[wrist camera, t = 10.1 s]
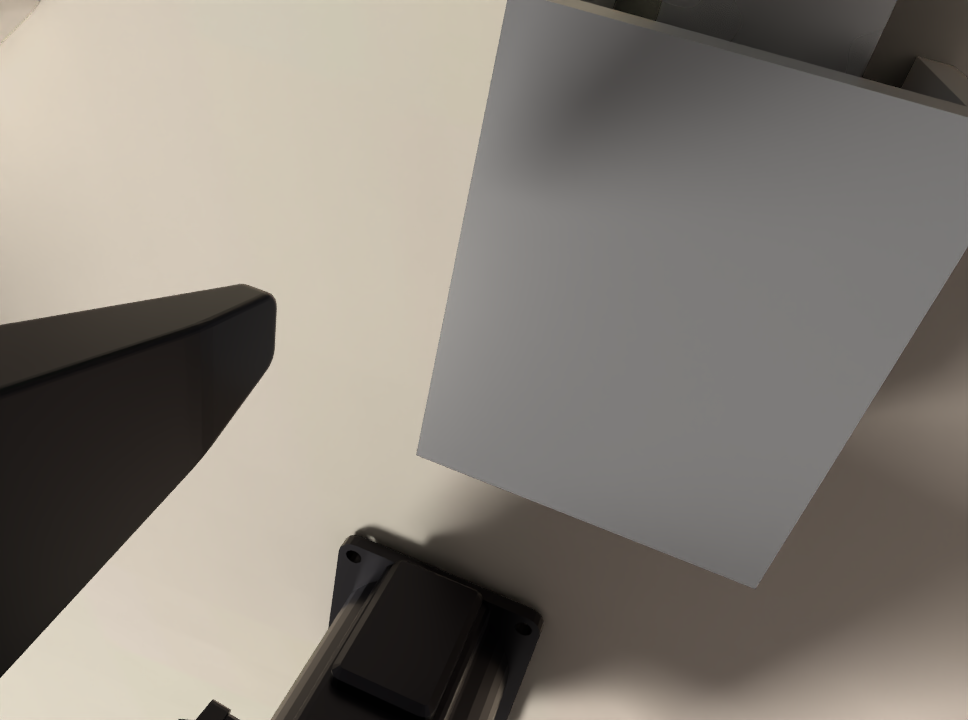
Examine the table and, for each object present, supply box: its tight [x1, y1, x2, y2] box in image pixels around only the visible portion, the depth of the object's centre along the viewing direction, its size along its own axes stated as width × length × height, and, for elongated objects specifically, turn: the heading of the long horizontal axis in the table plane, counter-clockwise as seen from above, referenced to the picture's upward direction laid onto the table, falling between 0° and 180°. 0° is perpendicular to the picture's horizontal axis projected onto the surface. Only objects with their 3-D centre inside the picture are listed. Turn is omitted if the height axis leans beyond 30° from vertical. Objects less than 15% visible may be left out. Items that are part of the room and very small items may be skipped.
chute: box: [416, 0, 968, 589], centre depth 13 cm, size 8×6×5 cm
